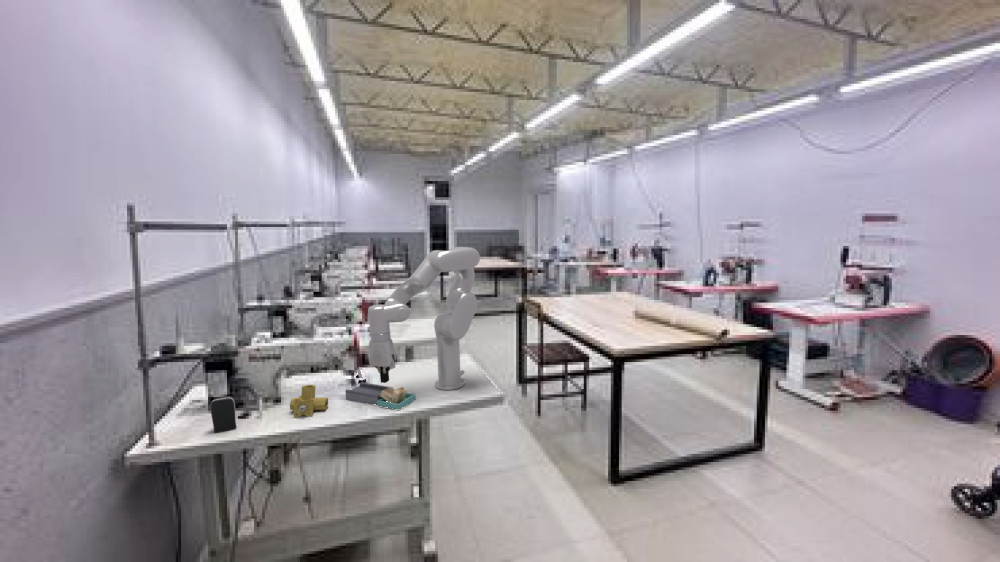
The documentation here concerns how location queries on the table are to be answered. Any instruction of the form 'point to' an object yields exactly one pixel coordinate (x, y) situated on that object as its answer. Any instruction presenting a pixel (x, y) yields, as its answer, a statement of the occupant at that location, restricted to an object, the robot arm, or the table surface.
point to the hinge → (360, 373)
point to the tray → (407, 400)
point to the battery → (223, 414)
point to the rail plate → (365, 393)
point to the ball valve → (308, 402)
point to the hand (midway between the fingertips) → (385, 381)
